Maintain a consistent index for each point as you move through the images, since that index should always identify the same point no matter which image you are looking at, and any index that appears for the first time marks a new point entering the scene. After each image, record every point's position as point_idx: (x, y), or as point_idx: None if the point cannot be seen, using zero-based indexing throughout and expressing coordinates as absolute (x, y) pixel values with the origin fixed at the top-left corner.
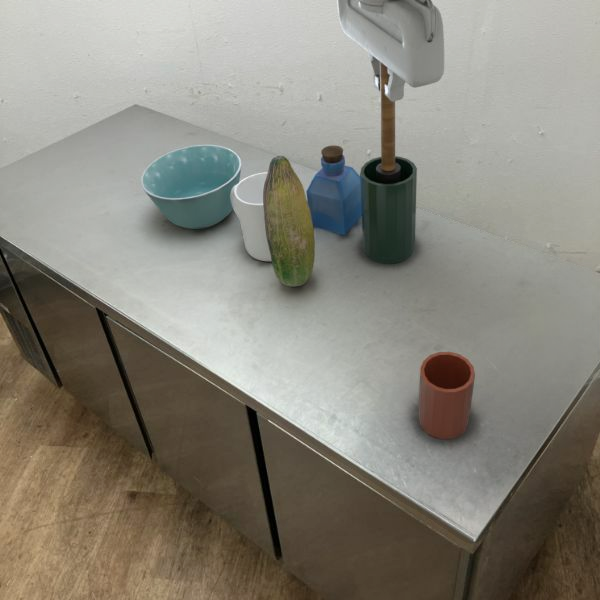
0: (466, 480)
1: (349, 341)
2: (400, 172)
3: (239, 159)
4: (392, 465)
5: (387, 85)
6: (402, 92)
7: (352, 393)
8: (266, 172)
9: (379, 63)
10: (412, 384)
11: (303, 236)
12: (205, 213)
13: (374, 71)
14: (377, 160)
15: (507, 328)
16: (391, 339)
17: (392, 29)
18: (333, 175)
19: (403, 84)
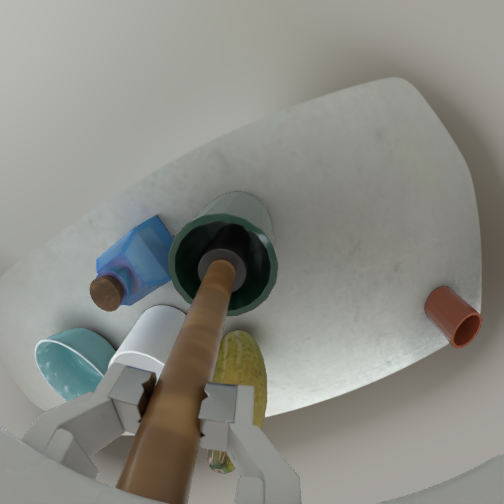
0: None
1: (340, 329)
2: (238, 251)
3: (63, 345)
4: (435, 343)
5: (219, 449)
6: (252, 402)
7: (383, 346)
8: (111, 362)
9: (90, 437)
10: (407, 306)
11: (266, 390)
12: None
13: (113, 437)
14: (176, 264)
15: (416, 197)
16: (363, 298)
17: None
18: (132, 287)
19: (257, 429)
